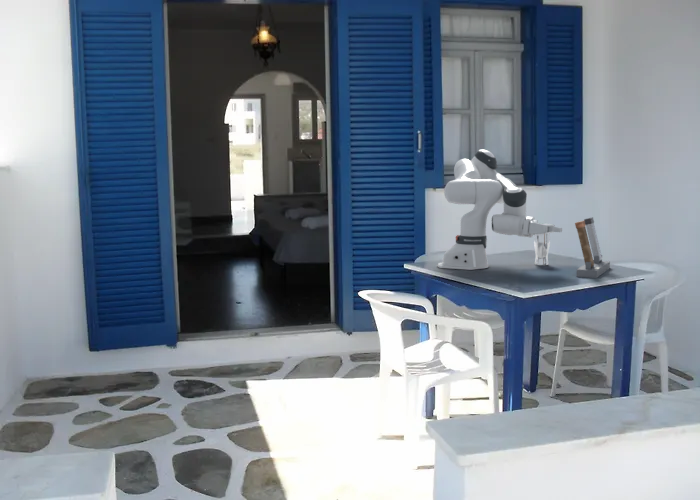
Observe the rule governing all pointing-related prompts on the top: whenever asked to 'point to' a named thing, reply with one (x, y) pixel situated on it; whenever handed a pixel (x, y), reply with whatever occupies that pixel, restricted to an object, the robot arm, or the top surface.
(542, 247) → the beer glass
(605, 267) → the plinth
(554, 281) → the top surface
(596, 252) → the metal lever
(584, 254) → the walnut lever
